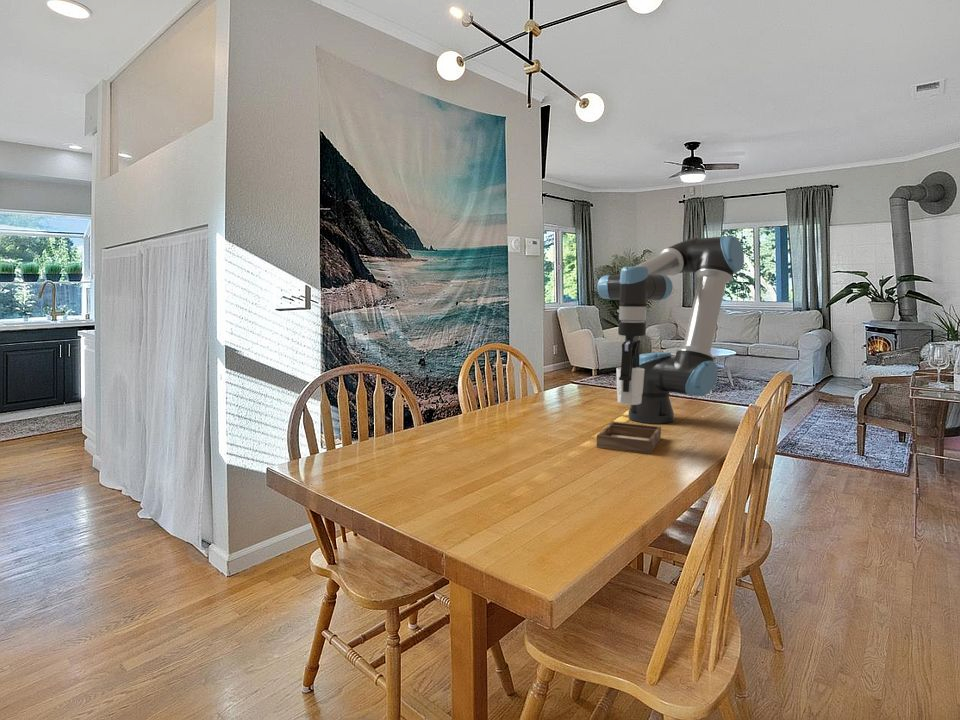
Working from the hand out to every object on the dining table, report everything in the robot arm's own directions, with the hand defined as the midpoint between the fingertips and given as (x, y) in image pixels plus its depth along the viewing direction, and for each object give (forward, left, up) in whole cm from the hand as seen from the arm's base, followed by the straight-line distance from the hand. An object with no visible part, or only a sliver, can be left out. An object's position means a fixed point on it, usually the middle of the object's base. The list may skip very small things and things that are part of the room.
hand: (629, 400), depth 164 cm
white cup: (0, 0, -1) cm, 1 cm away
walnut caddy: (-2, 0, -13) cm, 13 cm away
